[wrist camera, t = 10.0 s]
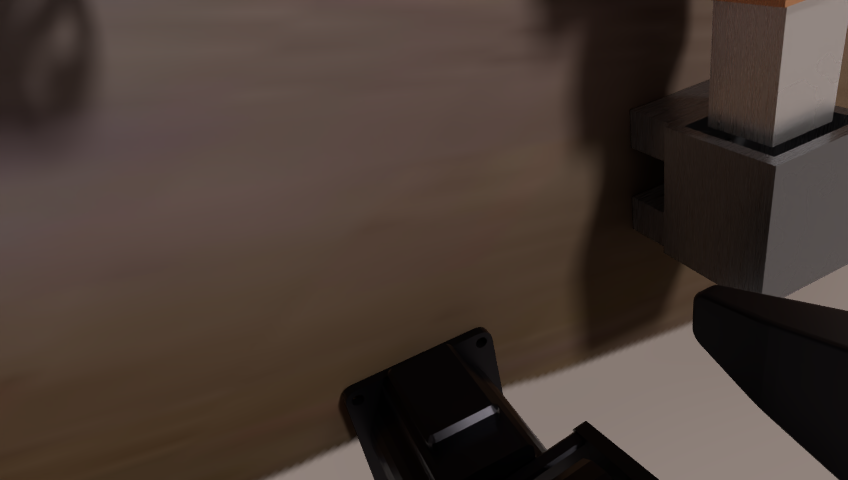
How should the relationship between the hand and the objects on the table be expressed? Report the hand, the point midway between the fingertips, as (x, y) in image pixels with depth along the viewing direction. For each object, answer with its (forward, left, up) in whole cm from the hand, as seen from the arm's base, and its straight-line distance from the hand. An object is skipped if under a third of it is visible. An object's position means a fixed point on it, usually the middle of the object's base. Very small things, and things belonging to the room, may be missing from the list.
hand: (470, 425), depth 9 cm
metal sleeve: (-5, -15, -12) cm, 20 cm away
